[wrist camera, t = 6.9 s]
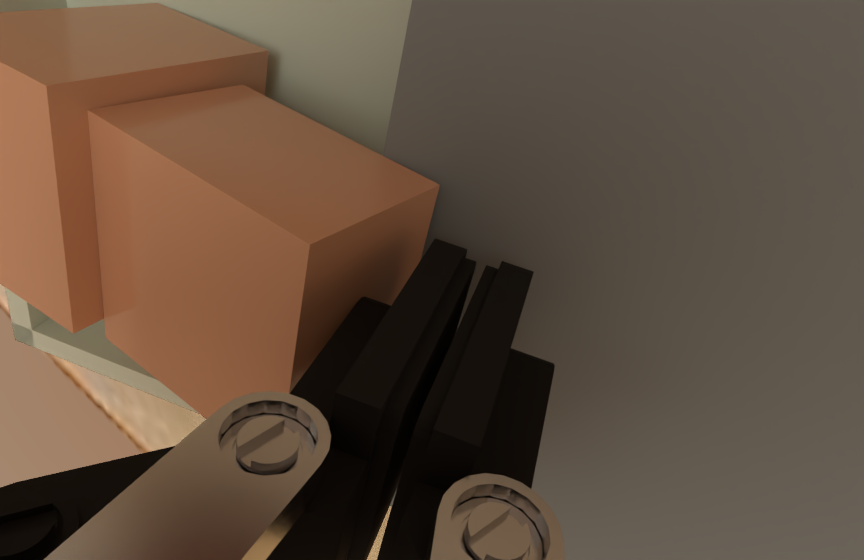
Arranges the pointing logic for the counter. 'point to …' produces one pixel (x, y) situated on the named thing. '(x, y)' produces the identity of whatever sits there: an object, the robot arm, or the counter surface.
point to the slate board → (665, 254)
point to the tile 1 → (86, 130)
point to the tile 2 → (242, 237)
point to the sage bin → (285, 83)
